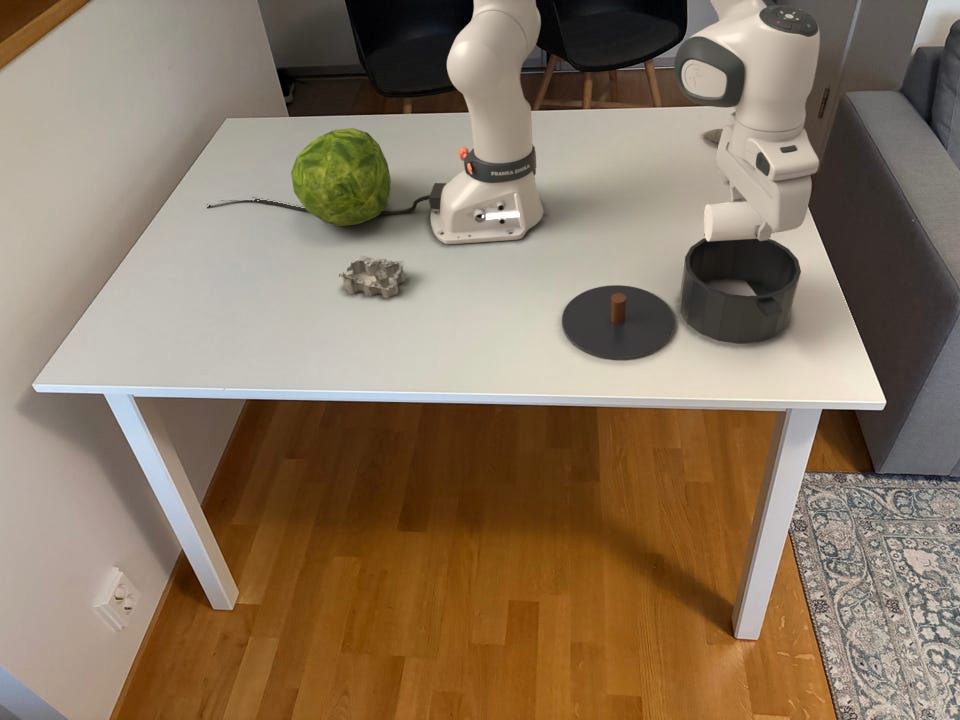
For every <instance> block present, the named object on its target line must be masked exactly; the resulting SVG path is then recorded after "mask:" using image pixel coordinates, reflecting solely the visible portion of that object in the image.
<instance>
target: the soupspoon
mask: <svg viewBox="0 0 960 720" xmlns="http://www.w3.org/2000/svg"><path fill="white" fill-rule="evenodd" d="M723 129H724V128H715V129H711V130H709V131H707V132H705V133H704V134H703V136H704V137H705V138H706V139H709V140H710V141H713V142H715V143H716V144H719V142H720V138H721V134H722V131H723ZM728 182H729V184H730V181H729V180H728Z"/></svg>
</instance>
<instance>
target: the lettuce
mask: <svg viewBox="0 0 960 720" xmlns="http://www.w3.org/2000/svg"><path fill="white" fill-rule="evenodd" d="M290 175H291V182H292V188H293V192H294V195H295V196H296V197H297V199H298V201H299V202H300V203H301V204H302V207H305V209H306V210H307V211H308V212H307V213H310V214H311V215H313V216H314V217H316V218H317V219H319V220H321V221H322V222H323V223H324V224H325V223H326V224H328V225H329V224H330V225H332V226H333V225H334V226H338V227H343V226H344V227H347V226H354V225H360V224H363V223H365V222H367V221H370V220H372V219H374V218H376V217H379V216H380V215H379V214H380V213H381V212H382V211H384V210H385V209H386V208H387V206H388V205H389V201H390V193H391V186H392V185H391V184H392V177H391V174H390V168H389V163H388V162H387V158H386V157H385V154H384V151H383V150H382V148H381V145H380V143H378V142H377V141H376V140H375V138H373V136H372V135H370V133H369V132H366V131H363V130H360V129H357V128H354V127H350V128H349V127H348V128H339V129H334V130H331V131H329V132H327V133H325V134H323V135H320V136H318V137H316V138H315V139H313V140H312V141H310V143H309V144H308V145H306V146H305V147H304V148H303V149H302V150H300V152H299V153H298V154H297V155H296V159H295V161H294V164H293V166H292V169H291V172H290Z"/></svg>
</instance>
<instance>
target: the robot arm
mask: <svg viewBox="0 0 960 720" xmlns="http://www.w3.org/2000/svg"><path fill="white" fill-rule="evenodd" d="M708 1H709V2H710V4H711V6H712V7H713V9H714V11H715V12H716V15H717V19H718V21H716V22H715V23H713V24H710V25H708V26H706V27H705V28H703V29H701V30H699V31H697V32H696V33H694V34H693V35H691V36H690V37H688V38H687V39H685V40H684V41H683V42H682V43H681V45H679V48H678V49H677V51H676V54H675V58H674V62H673V63H674V65H673V72H674V78H675V82H676V84H677V86H678V89H679V90H680V92H681V94H683V96H684V97H685V98H686V99H688V100H689V101H691V102H692V103H694V104H696V105H701V106H707V107H713V108H734V110H735V111H733V112H732V113H731V114H730V115H729V117H728V121H727V125H725V126H724V127H723V128H722V129H723V131H722V134H721V138H720V142H719V143H718V147H717V152H716V157H715V161H716V167H717V169H718V170H719V171H720V172H721V173H722V174H723V175H724V176H725V177H726V179H727V180H728V182H729V181H730V183H729V184H728V185H729V191H730V197H731V201H730V202H746V201H748V202H749V203H750V204H751V206H752V207H753V208H754V209H755V210H756V211H757V212H758V214H759V215H760V216H761V221H762V222H763V223H762V224H761V225H758V226H756V228H755V233H754V235H755V236H756V237H757V239H758V240H759V241H764V240H768V239H771V236H772V234H771V232H772V229H773V231H775V233H782V232H787V231H788V232H789V231H792V230H796V229H798V228H800V227H801V226H802V225H803V223H804V221H805V218H806V215H807V211H808V208H809V204H810V199H811V194H812V187H813V183H812V177H811V175H814V174H816V173H817V172H818V170H819V167H820V159H819V157H818V155H817V153H816V152H815V150H814V148H813V146H812V144H811V142H810V140H809V137H808V133H807V130H806V129H805V128H804V127H805V122H806V118H807V111H806V103H807V99H808V98H809V96H810V94H811V92H812V90H813V87H814V83H815V77H816V72H817V67H818V60H819V54H820V44H821V34H820V33H821V32H820V27H819V24H818V22H817V20H816V19H815V18H814V16H813V15H811V14H810V13H809V12H807V11H806V10H804V9H801V8H799V7H797V6H792V5H782V4H781V5H778V4H777V3H776V2H775V1H773V0H708ZM541 26H542V20H541V14H540V11H539V9H538V7H537V1H536V0H473V12H472V17H471V19H470V22H469V23H468V24H467V25H465V26H464V28H463V29H462V30H460V31H459V33H458V34H457V35H456V37H455V39H454V40H453V43H452V45H451V48H450V49H449V53H448V55H447V59H446V70H447V75H448V78H449V80H450V82H451V84H452V85H453V87H454V88H455V89H456V90H457V91H458V92H459V93H461V94H462V95H463V98H464V100H465V103H466V106H467V107H466V108H467V110H468V115H469V121H470V128H471V139H472V149H471V150H470V151H469V149H468V148H467V147H466V146H462V147H460V148H459V150H458V151H457V154H458V156H459V159H460V160H461V161H462V162H463V168H464V169H463V170H461V172H459V173H458V174H457V175H455V177H453V178H452V179H451V180H450V181H448V182H446V183H445V182H435V183H434V184H433V186H432V188H431V191H430V193H429V194H427V195H422V196H420V197H419V198H417V199H415V200H414V201H413V202H412V206H411V207H409V208H407V209H403V210H393V211H392V210H383V211H382V212H381V213H380V214H379V215H378V216H398V215H405V214H410V213H413V212H414V211H415V210H416V209H417V206H418V204H420V203H422V202H424V201H428V202H429V209H430V210H431V212H430V225H431V230H432V233H433V235H434V236H435V237H436V238H437V239H438V241H440V242H441V243H443V244H445V245H461V244H476V243H488V242H503V241H505V242H506V241H517V240H521V239H523V238H524V236H525V235H526V234H527V232H528V231H529V230H530V229H532V228H533V227H535V226H536V225H537V224H538V223H540V221H541V220H542V218H543V217H544V208H543V205H542V202H541V198H540V195H539V191H538V187H537V182H536V174H537V152H536V147H535V146H534V143H533V122H532V120H533V119H532V118H533V117H532V107H531V104H530V102H528V100H527V99H526V98H525V94H524V91H523V87H522V84H521V74H522V73H521V72H522V68H523V65H524V63H525V61H526V60H527V59H528V57H529V56H530V55H531V53H532V52H533V51H534V49H535V47H536V45H537V43H538V39H539V36H540V31H541ZM252 198H254V197H252ZM257 200H259V201H258V202H257ZM267 200H268V199H267ZM267 200H260V199H255V200H254V201H255V202H256V203H261V204H267V205H272V206H273V205H274V206H280V207H284V208H288V209H291V210H297V211H302V212H306V213H309V212H308V211H307V210H306V209H305V208H301V207H303V205H300V206H301V207H296V206H298V205H296V204H295V205H296V206H291V205H287V204H283V203H278V202H273V201H275V200H274V199H273V201H267ZM250 202H253V201H252V200H251V201H250Z"/></svg>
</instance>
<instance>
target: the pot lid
mask: <svg viewBox="0 0 960 720" xmlns="http://www.w3.org/2000/svg"><path fill="white" fill-rule="evenodd" d="M561 326H562V327H561V328H562V331H563V333H564V335H565V337H566V338H567V340H568V341H569V342H570V343H571V344H572V345H573V346H574V347H576V348H577V349H579V350H580V351H581V352H583V353H586V354H588V355H591V356H593V357H596V358H600V359H606V360H613V361H614V360H616V361H624V360H625V361H627V360H634V359H635V360H636V359H640V358H644V357H647V356H649V355H651V354H654V353H655V352H657V351H659V350H661V349H662V348H663V347H664V346H665V345H666V344H667V343H668V342H669V340H670V339H671V337H672V336H673V333H674V330H675V317H674V314H673V312H672V310H671V308H670V306H669V305H668V304H667V303H666V302H665V301H664V300H663V299H662V298H660V297H659V296H657V295H656V294H654V293H653V292H651V291H648V290H645V289H642V288H639V287H636V286H630V285H621V284H616V285H615V284H614V285H613V284H611V285H603V286H597V287H594V288H591V289H590V288H589V289H587V290H585V291H583V292H580V293H579V294H578V295H576V296H575V297H574V298H572V299H571V300H570V301H569V302H568V303H567V304H566V306H565V308H564V309H563V312H562V316H561Z"/></svg>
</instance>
